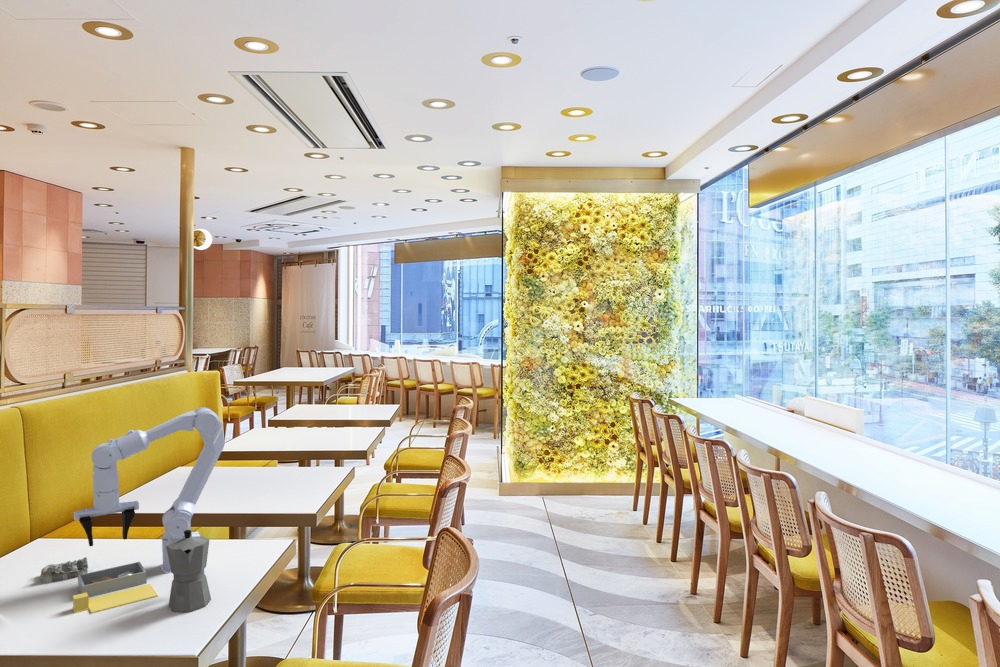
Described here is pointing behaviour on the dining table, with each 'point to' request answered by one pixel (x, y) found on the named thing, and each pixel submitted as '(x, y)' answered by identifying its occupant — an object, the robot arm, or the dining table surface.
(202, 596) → the coffeepot
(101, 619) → the dining table surface
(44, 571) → the egg carton
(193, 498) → the robot arm
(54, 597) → the dining table surface
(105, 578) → the walnut block
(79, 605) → the lid
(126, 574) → the grey rounded puck
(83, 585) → the tub
